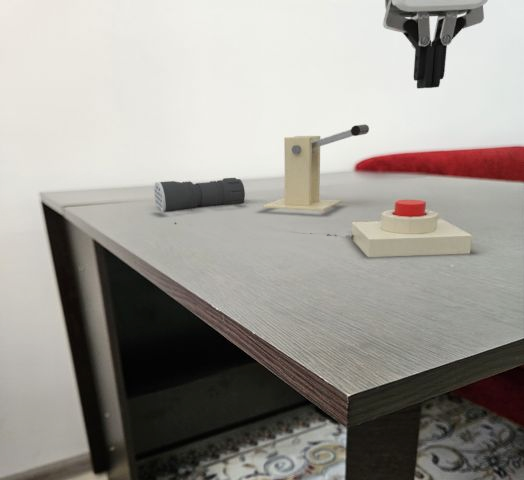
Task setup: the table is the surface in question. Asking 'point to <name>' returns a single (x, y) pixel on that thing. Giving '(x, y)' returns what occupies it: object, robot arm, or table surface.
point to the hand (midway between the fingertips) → (427, 87)
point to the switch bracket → (302, 176)
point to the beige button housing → (410, 236)
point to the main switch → (341, 136)
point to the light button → (410, 208)
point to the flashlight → (198, 194)
